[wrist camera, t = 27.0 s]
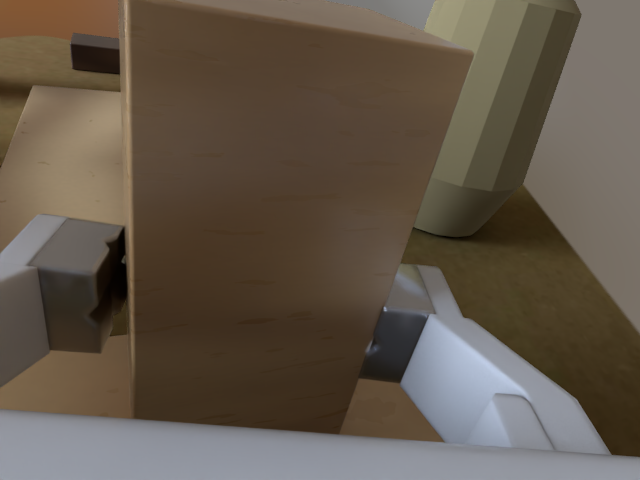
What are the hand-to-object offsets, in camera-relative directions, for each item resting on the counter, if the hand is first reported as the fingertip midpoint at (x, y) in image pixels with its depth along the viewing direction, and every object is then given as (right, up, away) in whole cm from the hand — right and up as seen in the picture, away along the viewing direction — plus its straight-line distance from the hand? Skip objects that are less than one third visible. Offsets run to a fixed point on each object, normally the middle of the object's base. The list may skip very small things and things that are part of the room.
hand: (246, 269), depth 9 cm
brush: (-1, -5, +2) cm, 6 cm away
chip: (-17, +16, +30) cm, 38 cm away
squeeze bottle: (+8, +2, +18) cm, 20 cm away
